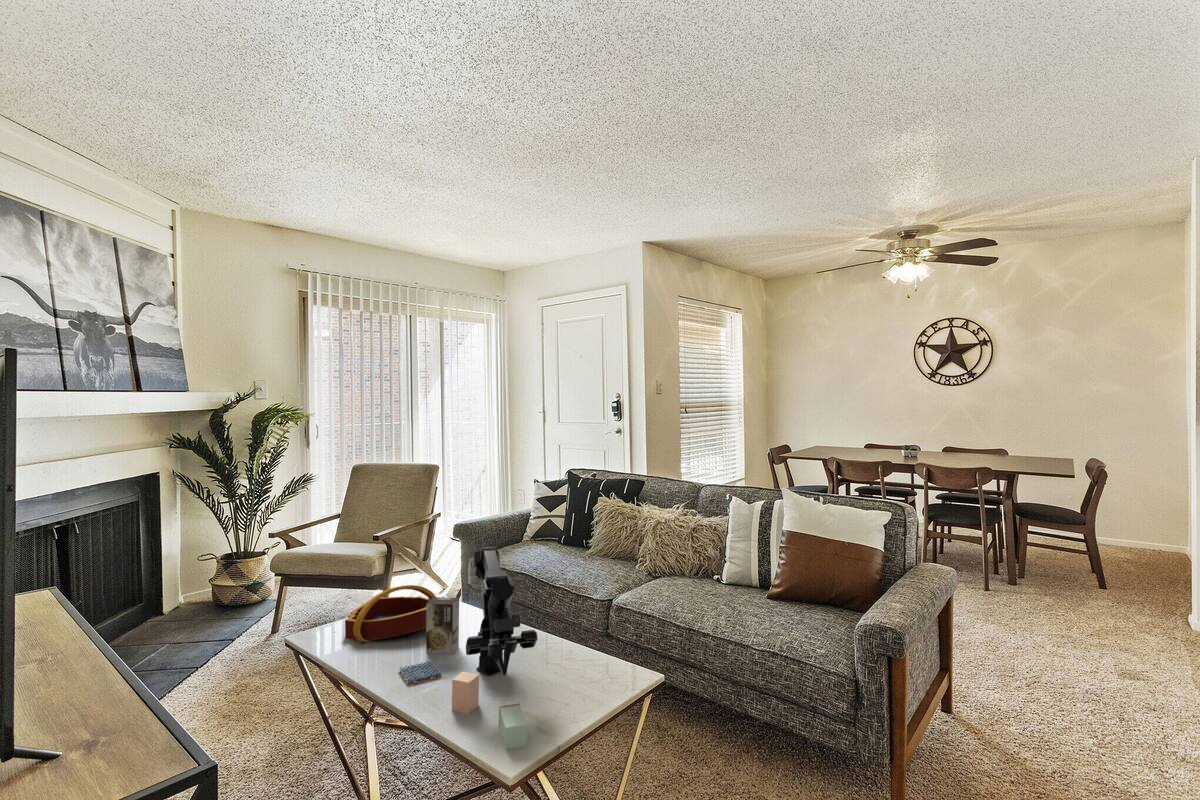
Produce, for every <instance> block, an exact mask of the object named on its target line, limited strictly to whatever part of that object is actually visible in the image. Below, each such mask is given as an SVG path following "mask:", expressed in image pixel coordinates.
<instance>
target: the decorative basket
mask: <svg viewBox="0 0 1200 800" xmlns="http://www.w3.org/2000/svg"><path fill="white" fill-rule="evenodd" d="M402 590H410V591H411V590H413V591H416V592H419V593H421V594H422V595H424V597H423V596H391V597H389V596H387V595H389V594H391V593H394V592H397V591H402ZM385 596H387V597H385ZM425 596H426V597H425ZM433 597H437V595H436V594H434V593H433V591H431V590H430V589H429V588H426V587H425V586H424V587H423V586H421V585H413V584H411V585H410V584H407V585H401V586H400V585H399V586H396V587H392V588H389V589H386V590H383V591H382V592H379V593H378V594H376V595H374V596H373V597H372V598H371V599H370V600H368V601H366V602H365V603H363V604H361V605H360V606H358V607H357V608H355V609H354V610H352V611H351V612H350V614H349V615H347V616H348V618H346V619H345V621H344V629H345V630H344V632H345V635H344V637H345V639H348V640H352V641H353V640H354V641H360V642H364V643H370V642H373V641H375V640H382V639H390V638H395V637H398V636H404V635H406V634H410V633H414V632H416V631H420V630H422V629H426V604H427V603H428V602H429V601H430V600H431V599H432V598H433Z"/></svg>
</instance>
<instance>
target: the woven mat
mask: <svg viewBox="0 0 1200 800" xmlns="http://www.w3.org/2000/svg"><path fill="white" fill-rule="evenodd" d="M398 674H399V676H400V677H401V678H402V680H403V681H404V682H405V684H406V685H407V686H408V687H409V686H413V685H417V684H418V685H419V684H421V683H426V682H429V681H434V680H437V679H441V678H443V676H442V675H443V673H442V671H441V670H440V668H438V667H437V666H436V665H435V664H434V663H433V662H432V661H428V660H426V661H425V662H420V663H415V664H410V666H409V665H408V666H407V665H405V667H401V666H400V667H399V671H398Z"/></svg>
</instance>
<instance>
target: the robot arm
mask: <svg viewBox="0 0 1200 800" xmlns="http://www.w3.org/2000/svg"><path fill="white" fill-rule="evenodd" d="M500 559H501V557H500V551H499V550H498V549H497V547H495V546H488V547H487V546H486V547H485V546H484V547H482V548H480V549H479V550H477V551H475V552H473V555H472V560H471V561H472V562H471V563H472V568H474V574H475V575H476V577H477V578H478V579H479V580H480V587H481V588H480V589H481V599H482V600H481V601H482V611H483V613H482V614H483V618H482V621H481V623H480V628H479V631H478V633H477V635H473V636H468V637H467V639H466V643H465V655H466V656H471V655H479V656H478V659H479V660H478V666H477V667H476V670H477V671H478V672H481V673H483V674H485V675H488V676H493V675H495V674H497V673H499V672H501V675H502V676H506V675H507V673H508V667H509V662H510V657H511V654H513V653H515V652H516V649H517V646H518V645H519V647H521V648H522V649H531V648H534V647H535V646H536V644H537V641H538V633H537V631H536V630H535V629H529V630H522V631H521V633H520V635H516V636H513V635H514V631H515V628H519V627H520V626H521V618H520V614H519V613H517V614H512V615H511V616H510V604H511V600H512V598H513V594H514V590H515V588H514V584H513V581H511V579H510V577H508V574H507V572H506V571H505V570H502V569H501V566H500V563H501V561H500Z"/></svg>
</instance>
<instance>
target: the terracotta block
mask: <svg viewBox="0 0 1200 800" xmlns="http://www.w3.org/2000/svg"><path fill="white" fill-rule="evenodd" d="M451 682H452V683H451V711H453V712H457V713H462V714H466V715H469V714H470V713H471V712H472V711H473V710H474V709H475V708H477V707H478V706H479V705H480V702H479V700H480V697H479V695H480V674H478V673H473V672H467V671H462V672H460V673H459V674H457V675H456V676H455V677H454V678H452V679H451Z"/></svg>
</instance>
